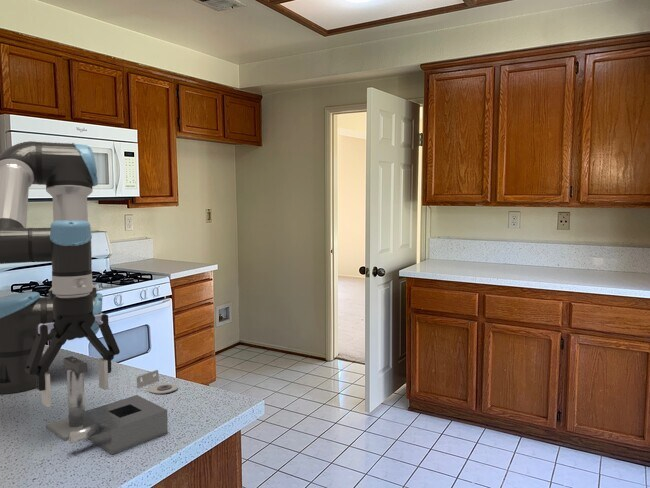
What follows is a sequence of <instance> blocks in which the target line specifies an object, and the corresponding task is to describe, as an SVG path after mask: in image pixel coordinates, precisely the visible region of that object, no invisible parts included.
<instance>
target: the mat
mask: <svg viewBox="0 0 650 488" xmlns="http://www.w3.org/2000/svg"><path fill="white" fill-rule="evenodd" d="M45 426H46V427H45V428H47V429H48V430H49V431H51V432H52V433H53V434H54V435H56V436H57V437H58V438H61V439H62V440H63V441H67V440H68V441H69V438H68V435H69V433H70V432H73V431H76V430H79V429H82V428H83V425H82V426H79V427H70V426H69V419H68V417H66V418H65V417H64V418H63V419H60V420H57V421H54V422H50V423H47V424H45Z"/></svg>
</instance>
